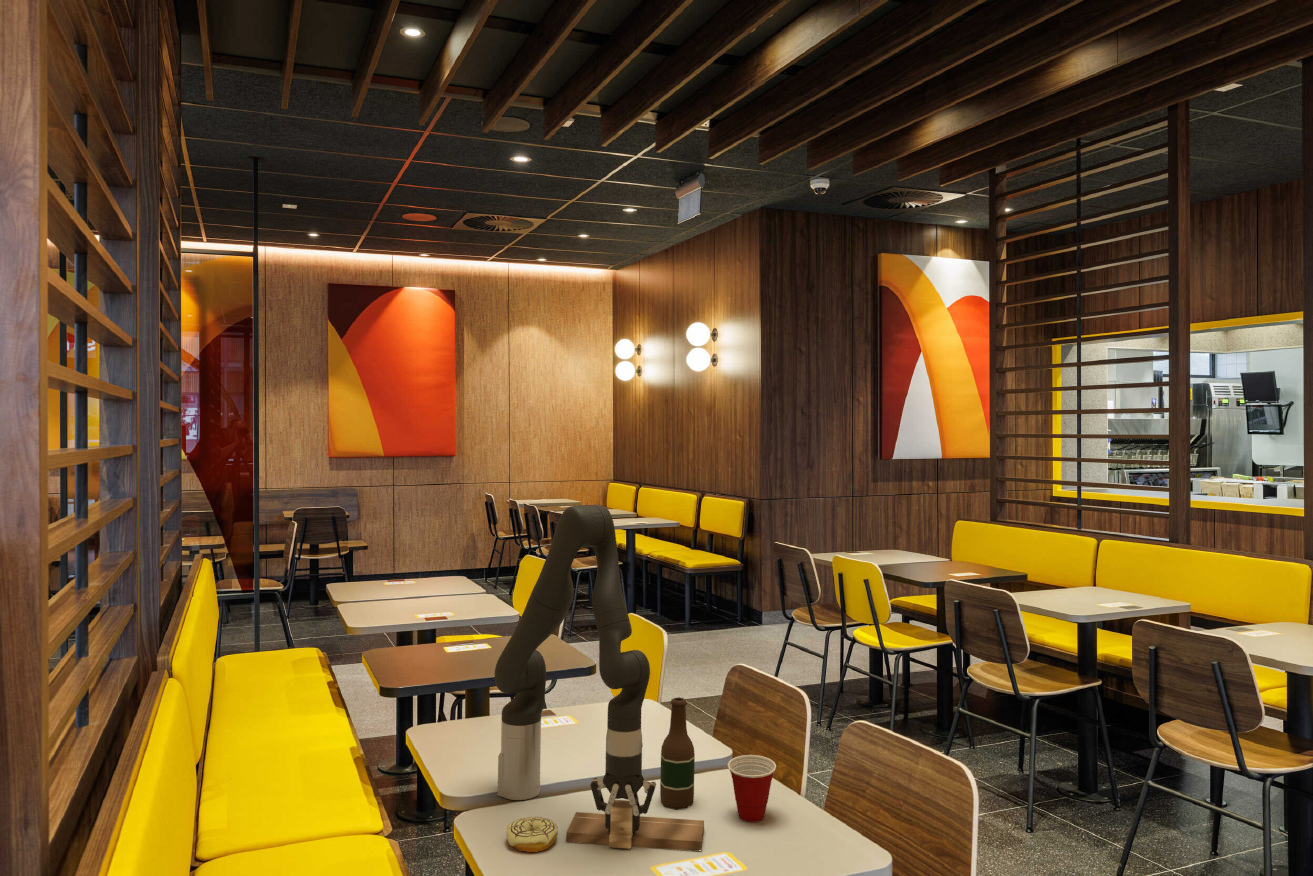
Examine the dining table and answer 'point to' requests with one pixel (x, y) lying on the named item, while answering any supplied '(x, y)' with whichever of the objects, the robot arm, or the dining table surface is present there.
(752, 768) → the plastic cup
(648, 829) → the board
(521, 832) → the decorated donut
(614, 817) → the block
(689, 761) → the beer bottle
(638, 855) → the dining table surface
